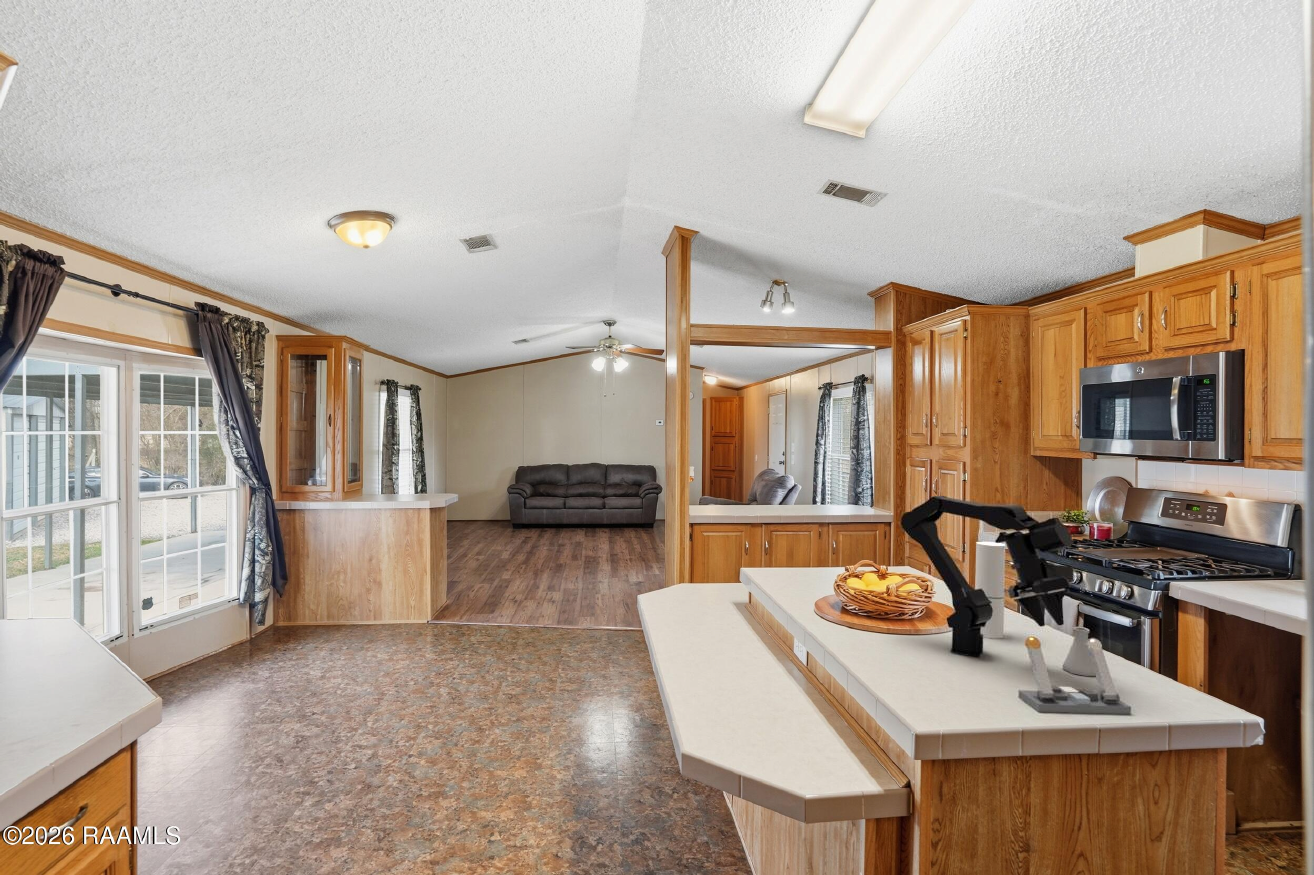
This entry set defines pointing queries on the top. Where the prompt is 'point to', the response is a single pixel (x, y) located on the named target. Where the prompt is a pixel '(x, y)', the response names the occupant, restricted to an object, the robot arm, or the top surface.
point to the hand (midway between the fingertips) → (1051, 625)
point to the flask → (1079, 655)
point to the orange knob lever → (1039, 669)
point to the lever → (1101, 671)
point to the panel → (1074, 702)
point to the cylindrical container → (992, 584)
